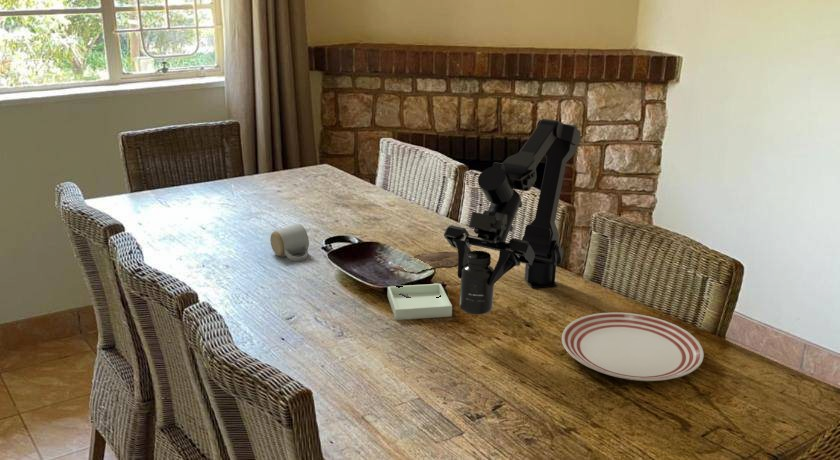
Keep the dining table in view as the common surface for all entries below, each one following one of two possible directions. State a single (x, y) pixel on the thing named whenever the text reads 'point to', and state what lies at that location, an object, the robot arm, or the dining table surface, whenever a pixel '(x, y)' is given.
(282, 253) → the ceramic mug
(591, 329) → the dinner plate
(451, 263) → the wooden fragment
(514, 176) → the robot arm
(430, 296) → the tray
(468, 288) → the supplement bottle
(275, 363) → the dining table surface
